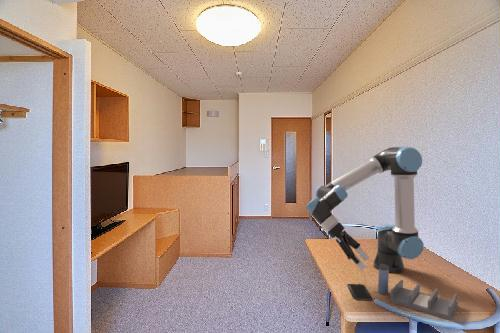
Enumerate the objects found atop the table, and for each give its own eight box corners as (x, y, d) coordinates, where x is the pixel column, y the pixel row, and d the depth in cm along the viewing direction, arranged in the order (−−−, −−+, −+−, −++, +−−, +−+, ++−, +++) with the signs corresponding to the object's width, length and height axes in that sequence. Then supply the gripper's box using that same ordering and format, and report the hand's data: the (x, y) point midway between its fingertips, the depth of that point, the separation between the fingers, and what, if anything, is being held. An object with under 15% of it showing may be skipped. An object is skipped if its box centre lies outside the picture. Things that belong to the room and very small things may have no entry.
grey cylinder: (379, 289, 144) (380, 263, 144) (389, 292, 142) (390, 265, 141) (376, 292, 141) (377, 265, 141) (386, 295, 138) (387, 268, 138)
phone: (354, 298, 134) (346, 283, 149) (354, 300, 134) (346, 286, 149) (373, 299, 133) (364, 284, 148) (373, 301, 133) (364, 286, 148)
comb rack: (399, 290, 144) (400, 279, 144) (457, 306, 130) (458, 293, 130) (389, 301, 132) (389, 290, 132) (451, 320, 118) (452, 307, 118)
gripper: (332, 226, 162) (362, 260, 156) (320, 237, 139) (355, 278, 134) (343, 217, 159) (374, 251, 154) (333, 227, 137) (369, 268, 131)
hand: (365, 264), depth 144 cm, fingers open, 13 cm apart
